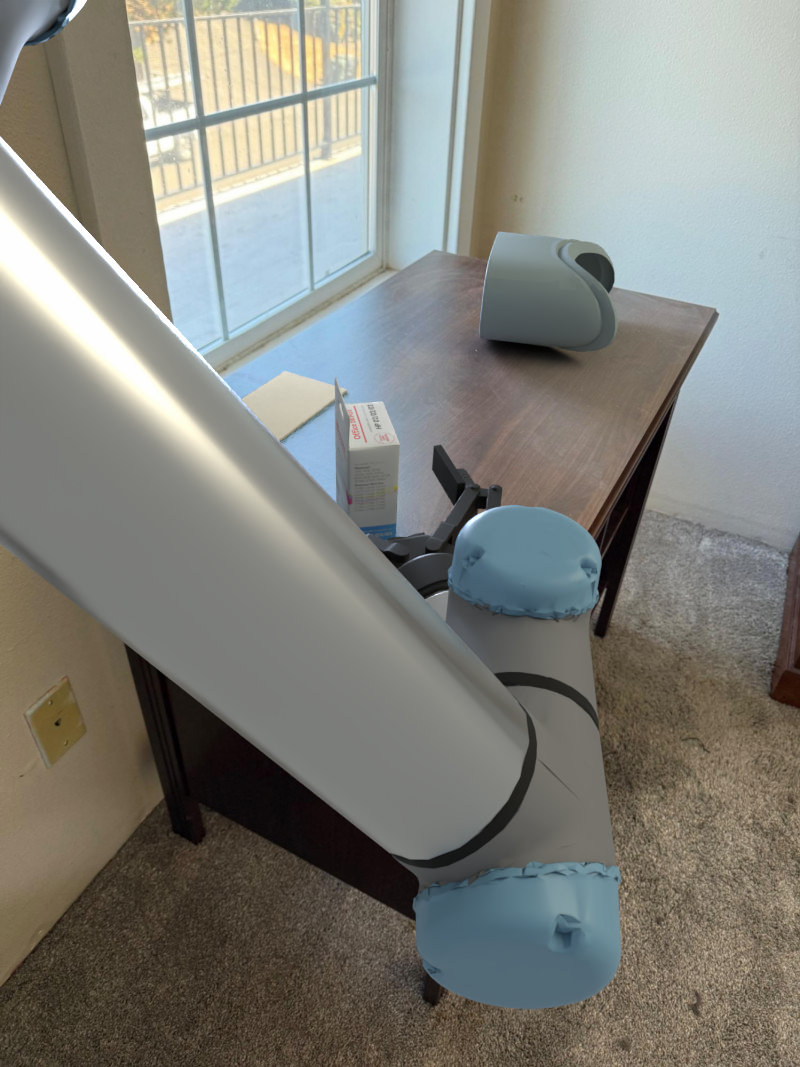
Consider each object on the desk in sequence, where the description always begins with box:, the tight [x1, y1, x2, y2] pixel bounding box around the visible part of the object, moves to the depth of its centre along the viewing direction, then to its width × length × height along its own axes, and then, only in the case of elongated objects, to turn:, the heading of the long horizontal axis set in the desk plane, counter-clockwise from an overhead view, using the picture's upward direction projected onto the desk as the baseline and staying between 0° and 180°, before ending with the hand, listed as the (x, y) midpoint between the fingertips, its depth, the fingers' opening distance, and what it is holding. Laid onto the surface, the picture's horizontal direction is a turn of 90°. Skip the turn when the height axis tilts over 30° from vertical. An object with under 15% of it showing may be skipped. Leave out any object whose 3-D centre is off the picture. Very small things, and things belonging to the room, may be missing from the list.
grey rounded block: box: [478, 231, 619, 353], centre depth 111 cm, size 22×19×13 cm
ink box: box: [334, 376, 401, 541], centre depth 71 cm, size 8×5×15 cm, turn 13°
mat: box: [240, 370, 348, 442], centre depth 93 cm, size 18×10×1 cm, turn 151°
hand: (367, 466), depth 70 cm, fingers open, 13 cm apart
